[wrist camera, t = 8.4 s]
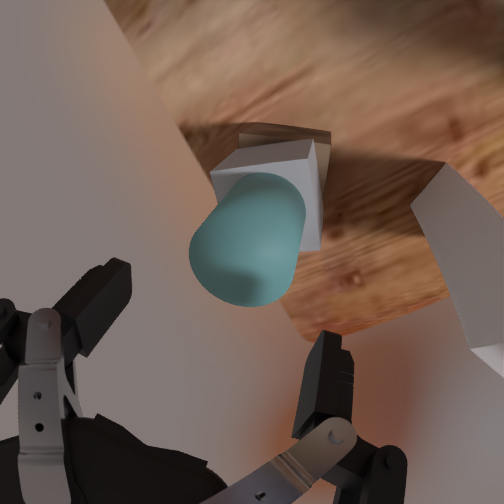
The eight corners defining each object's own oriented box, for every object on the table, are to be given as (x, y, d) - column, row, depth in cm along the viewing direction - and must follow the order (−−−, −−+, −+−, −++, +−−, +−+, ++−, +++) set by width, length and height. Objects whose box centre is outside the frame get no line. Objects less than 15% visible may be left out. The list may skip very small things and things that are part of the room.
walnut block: (330, 131, 27) (331, 145, 22) (320, 200, 31) (318, 227, 26) (256, 122, 28) (239, 133, 23) (252, 189, 32) (235, 214, 27)
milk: (445, 238, 29) (516, 423, 11) (408, 204, 29) (478, 400, 10) (481, 198, 26) (594, 363, 8) (446, 160, 25) (579, 319, 7)
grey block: (313, 138, 22) (307, 158, 17) (323, 211, 25) (320, 250, 20) (236, 149, 24) (209, 171, 19) (252, 217, 27) (232, 255, 22)
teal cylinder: (316, 187, 18) (308, 236, 13) (292, 255, 21) (277, 319, 16) (234, 162, 18) (195, 201, 13) (220, 232, 21) (184, 287, 16)
